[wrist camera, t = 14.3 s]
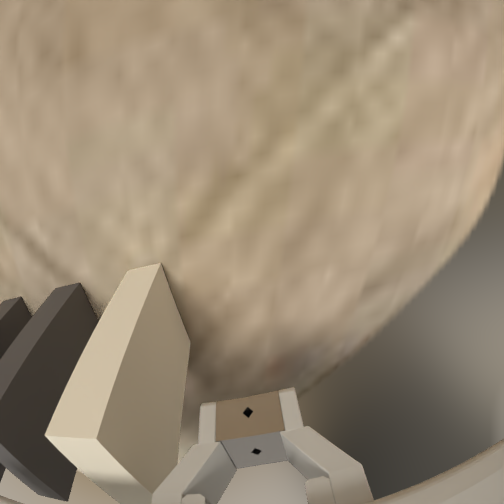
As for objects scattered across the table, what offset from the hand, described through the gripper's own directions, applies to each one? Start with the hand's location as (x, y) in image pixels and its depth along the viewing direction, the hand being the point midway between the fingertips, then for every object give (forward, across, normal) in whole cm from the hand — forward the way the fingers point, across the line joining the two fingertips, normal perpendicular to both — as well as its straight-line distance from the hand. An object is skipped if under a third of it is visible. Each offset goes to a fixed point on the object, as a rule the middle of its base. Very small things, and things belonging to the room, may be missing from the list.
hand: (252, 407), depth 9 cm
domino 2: (+7, +9, 0) cm, 12 cm away
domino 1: (+7, +4, 0) cm, 8 cm away
